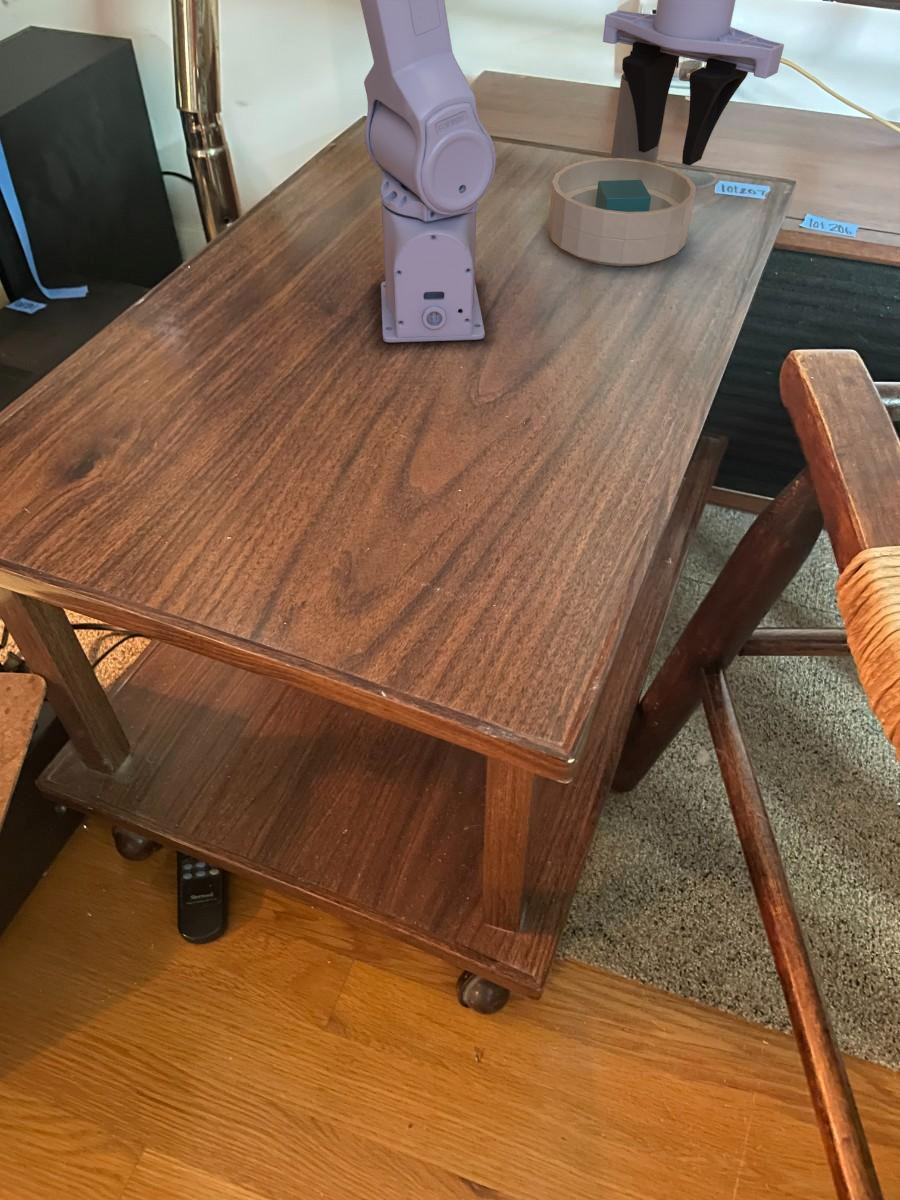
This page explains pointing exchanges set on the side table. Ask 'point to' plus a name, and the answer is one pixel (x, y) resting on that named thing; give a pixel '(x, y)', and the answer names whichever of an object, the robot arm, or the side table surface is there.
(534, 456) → the side table surface
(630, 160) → the bowl
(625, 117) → the grey cylindrical cup
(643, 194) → the block
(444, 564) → the side table surface
